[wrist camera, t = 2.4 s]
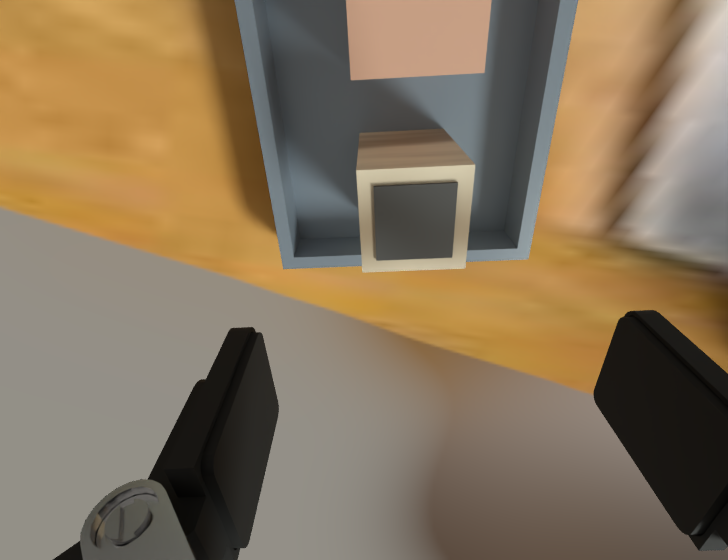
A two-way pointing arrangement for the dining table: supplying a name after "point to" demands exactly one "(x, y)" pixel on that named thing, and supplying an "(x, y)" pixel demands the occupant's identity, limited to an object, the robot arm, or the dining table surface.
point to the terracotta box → (417, 37)
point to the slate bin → (400, 122)
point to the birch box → (413, 200)
